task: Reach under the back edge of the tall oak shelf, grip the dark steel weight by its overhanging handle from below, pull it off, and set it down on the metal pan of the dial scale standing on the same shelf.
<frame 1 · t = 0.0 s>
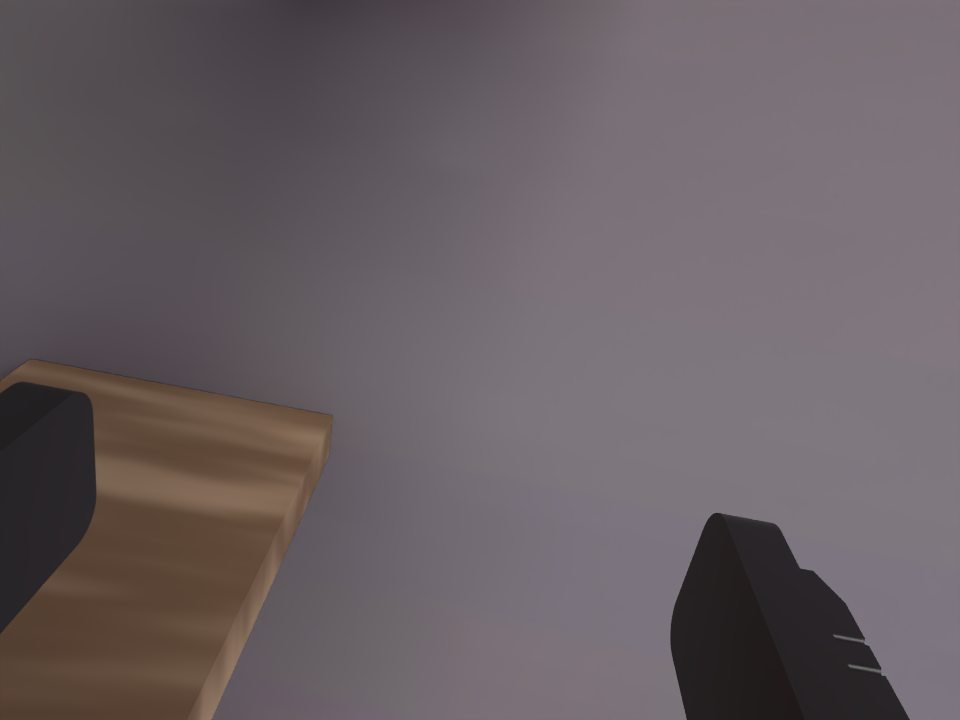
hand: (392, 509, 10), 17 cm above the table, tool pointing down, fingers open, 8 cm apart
oak shelf: (182, 610, 34), on the table
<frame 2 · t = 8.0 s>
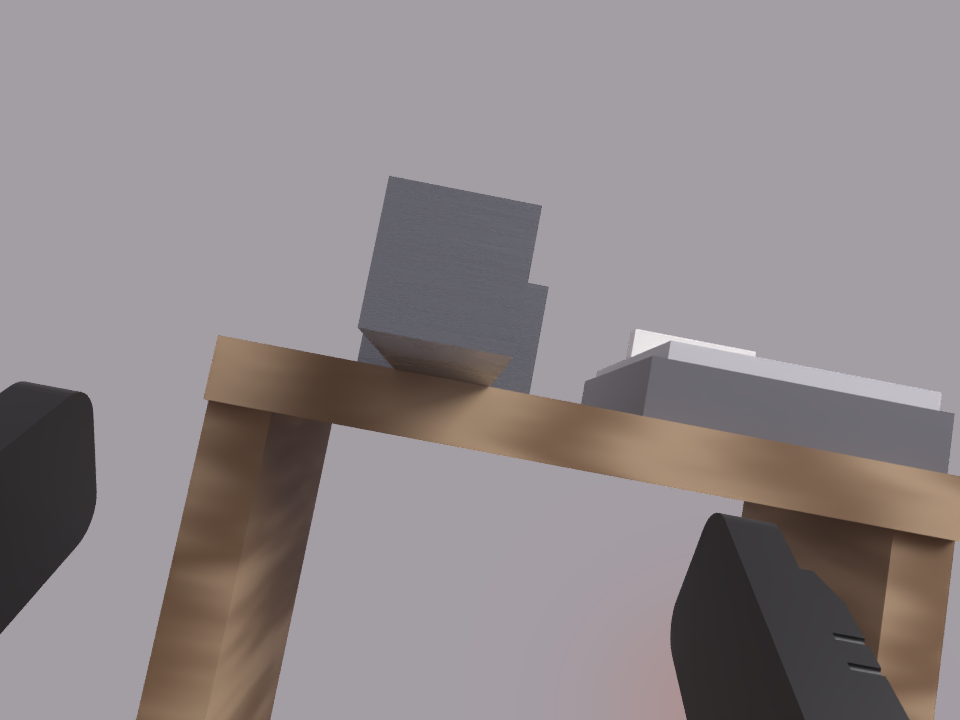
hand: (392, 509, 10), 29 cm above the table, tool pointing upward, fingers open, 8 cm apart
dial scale: (726, 443, 30), resting on oak shelf
steel weight: (443, 389, 29), point 32 cm above the table, touching oak shelf
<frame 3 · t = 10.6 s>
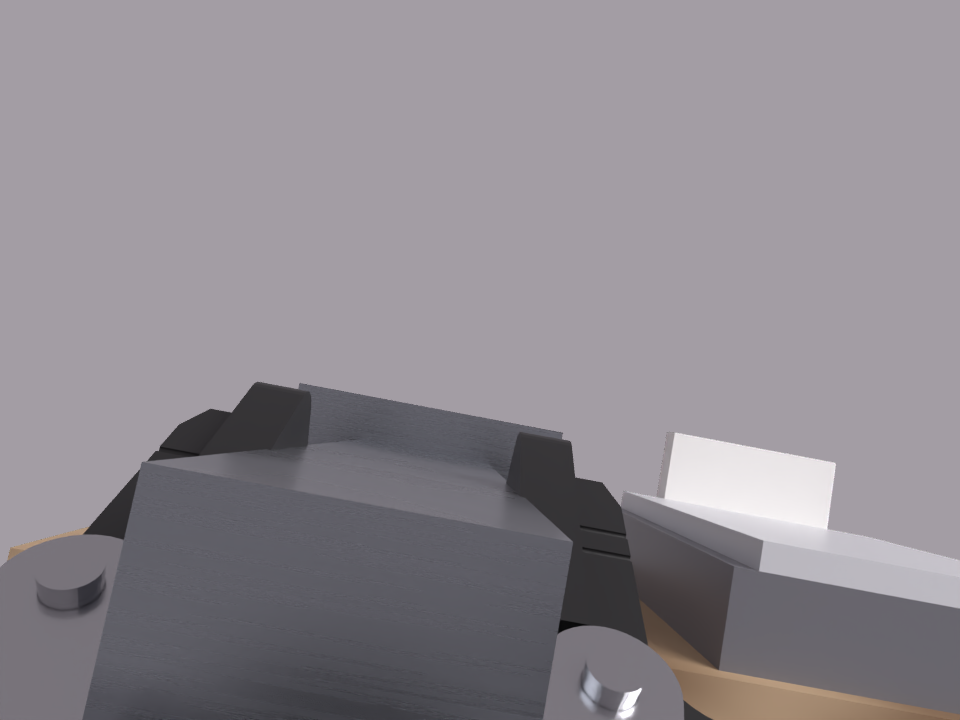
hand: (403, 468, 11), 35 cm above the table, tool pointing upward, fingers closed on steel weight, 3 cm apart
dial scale: (817, 632, 20), resting on oak shelf
steel weight: (407, 556, 20), point 32 cm above the table, touching gripper, oak shelf
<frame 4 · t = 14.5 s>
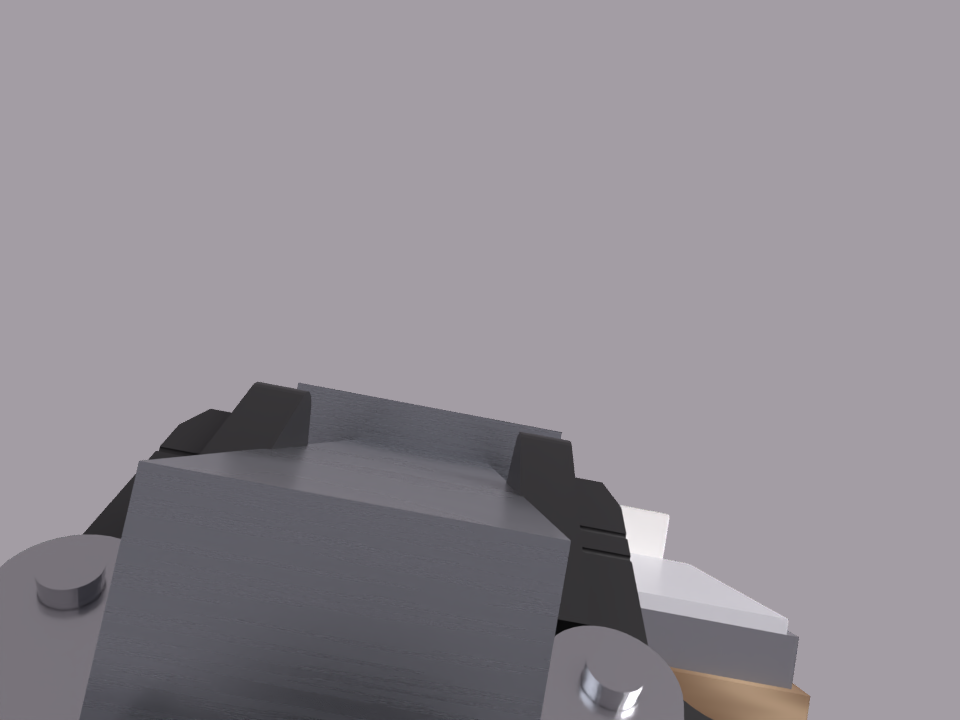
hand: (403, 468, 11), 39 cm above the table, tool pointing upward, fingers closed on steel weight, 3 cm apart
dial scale: (628, 625, 35), resting on oak shelf
steel weight: (406, 556, 20), point 36 cm above the table, touching gripper
when the fingers open (39 cm above the table, at t = 18.4 s): steel weight drops 1 cm, resting on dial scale.
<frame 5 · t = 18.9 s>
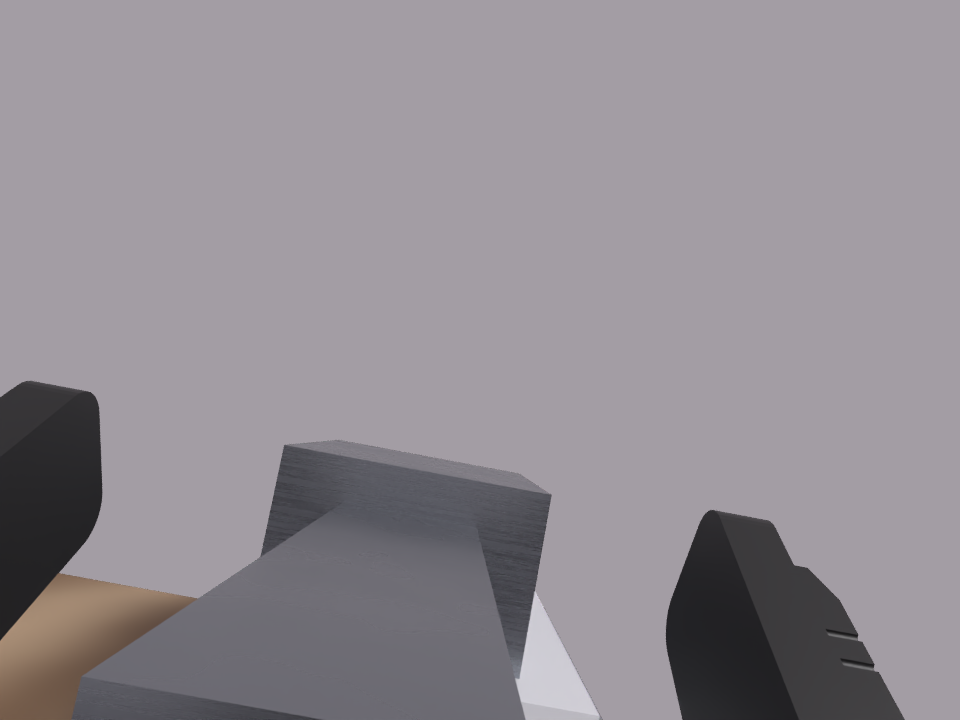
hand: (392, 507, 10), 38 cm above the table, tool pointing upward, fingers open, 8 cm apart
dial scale: (379, 700, 20), resting on oak shelf
steel weight: (396, 609, 20), point 35 cm above the table, touching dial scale
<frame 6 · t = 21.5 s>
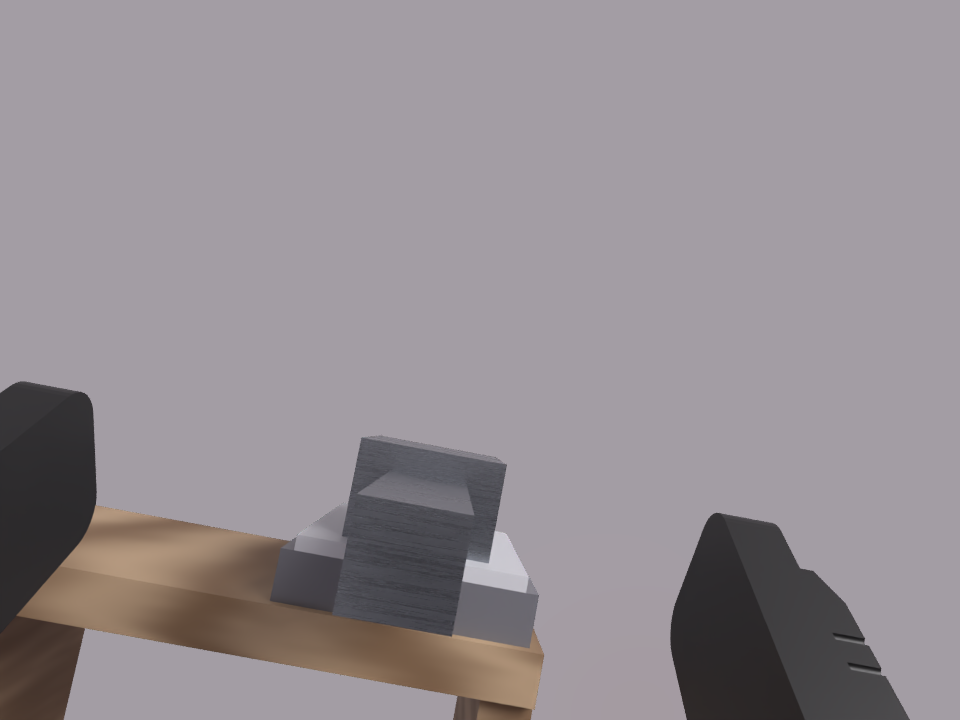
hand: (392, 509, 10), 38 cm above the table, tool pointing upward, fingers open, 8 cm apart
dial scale: (409, 590, 34), resting on oak shelf
steel weight: (419, 535, 34), point 35 cm above the table, touching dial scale
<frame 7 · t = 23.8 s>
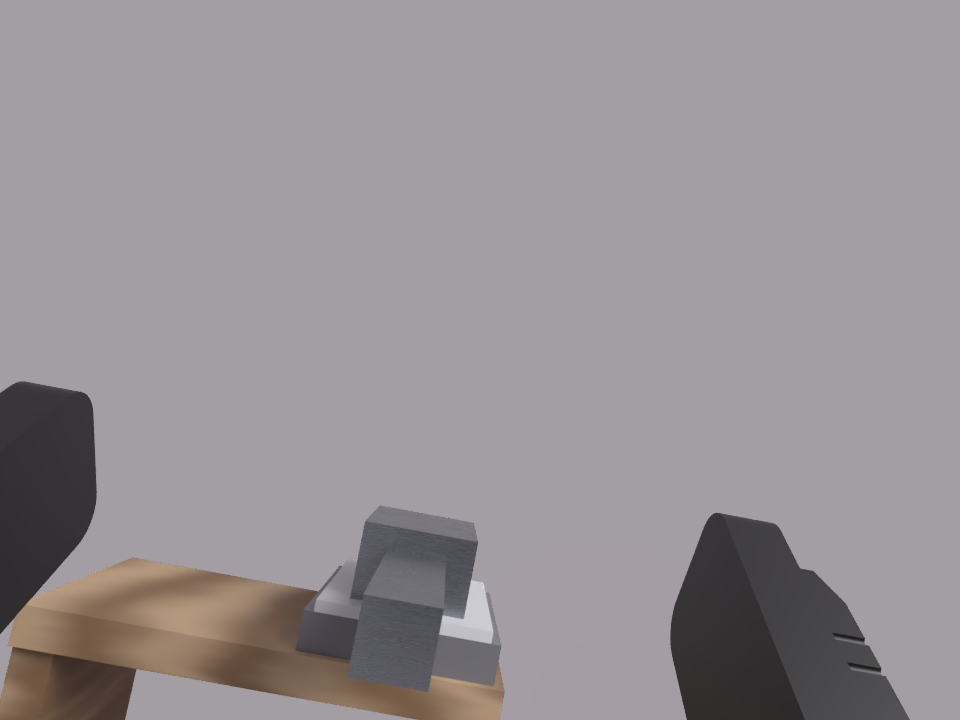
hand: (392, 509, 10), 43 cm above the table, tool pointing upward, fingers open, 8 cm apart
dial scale: (402, 635, 43), resting on oak shelf
steel weight: (411, 592, 42), point 35 cm above the table, touching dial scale
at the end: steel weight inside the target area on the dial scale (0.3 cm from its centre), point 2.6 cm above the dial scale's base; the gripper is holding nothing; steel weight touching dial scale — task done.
